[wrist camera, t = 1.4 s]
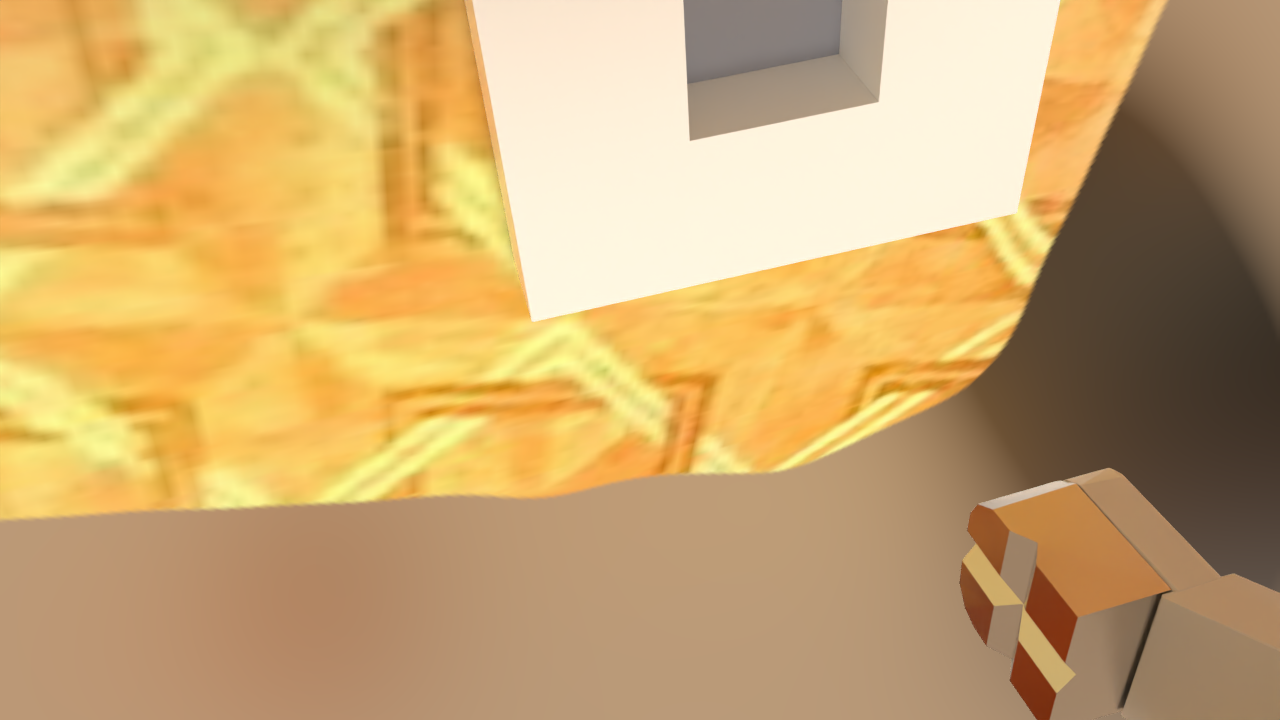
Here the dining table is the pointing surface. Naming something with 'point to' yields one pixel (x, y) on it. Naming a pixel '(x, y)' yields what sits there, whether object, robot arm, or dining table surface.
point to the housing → (746, 131)
